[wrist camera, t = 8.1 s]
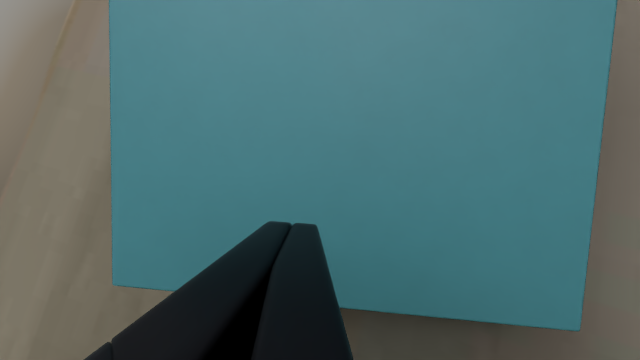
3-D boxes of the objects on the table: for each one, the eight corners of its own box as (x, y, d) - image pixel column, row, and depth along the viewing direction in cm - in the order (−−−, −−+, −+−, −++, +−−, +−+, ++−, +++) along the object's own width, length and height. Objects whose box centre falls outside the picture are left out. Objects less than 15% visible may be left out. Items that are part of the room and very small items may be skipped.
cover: (117, -209, 14) (105, -224, 13) (635, -242, 12) (648, -262, 11) (122, 279, 16) (111, 286, 15) (572, 323, 14) (580, 332, 13)
